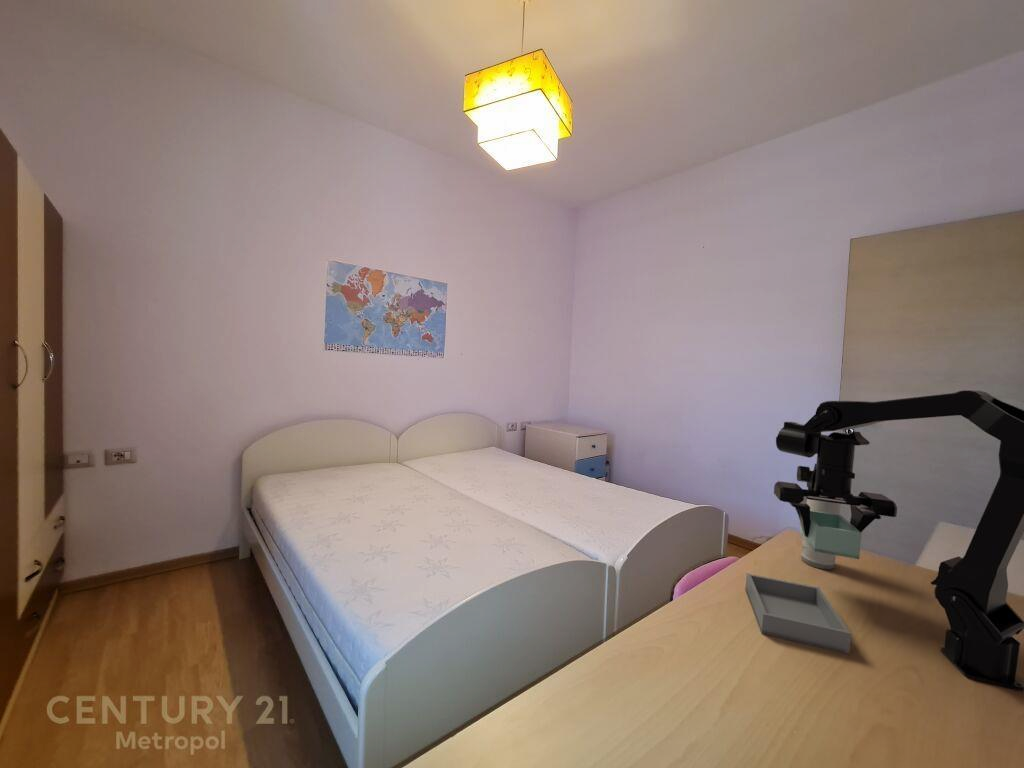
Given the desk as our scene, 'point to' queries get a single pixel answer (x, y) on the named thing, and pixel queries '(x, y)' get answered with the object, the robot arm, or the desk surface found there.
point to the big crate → (796, 613)
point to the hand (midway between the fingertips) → (827, 539)
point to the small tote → (832, 535)
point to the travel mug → (808, 553)
